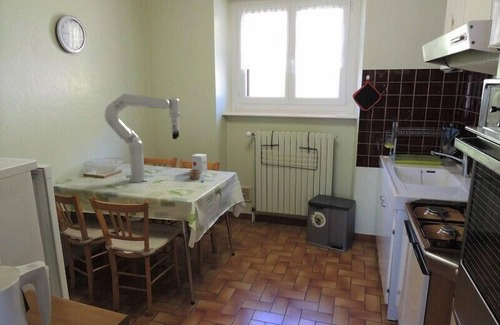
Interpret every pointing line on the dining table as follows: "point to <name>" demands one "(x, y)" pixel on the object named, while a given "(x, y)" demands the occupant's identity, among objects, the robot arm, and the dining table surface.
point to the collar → (194, 174)
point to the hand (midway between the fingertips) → (175, 138)
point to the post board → (187, 178)
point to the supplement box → (199, 162)
